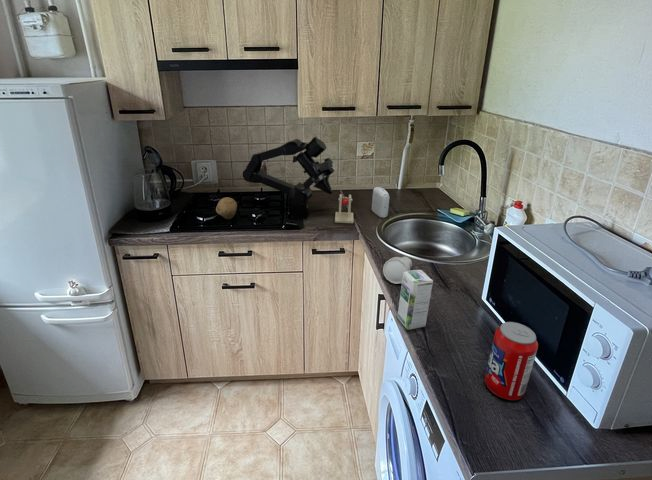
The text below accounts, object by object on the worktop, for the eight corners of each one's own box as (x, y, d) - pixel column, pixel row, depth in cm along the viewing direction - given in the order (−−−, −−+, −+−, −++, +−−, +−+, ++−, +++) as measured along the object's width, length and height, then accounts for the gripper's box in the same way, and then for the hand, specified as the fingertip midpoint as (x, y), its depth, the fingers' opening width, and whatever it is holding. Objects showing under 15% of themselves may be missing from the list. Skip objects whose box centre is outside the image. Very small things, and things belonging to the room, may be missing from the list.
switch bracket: (353, 223, 164) (354, 200, 160) (334, 222, 165) (335, 199, 161) (353, 215, 173) (354, 192, 169) (335, 214, 174) (336, 191, 170)
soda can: (525, 408, 77) (543, 349, 72) (483, 396, 80) (497, 338, 75) (521, 380, 84) (537, 325, 79) (483, 370, 87) (495, 315, 82)
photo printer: (388, 217, 171) (391, 191, 167) (380, 218, 170) (382, 192, 165) (378, 209, 180) (380, 184, 176) (370, 210, 179) (372, 185, 175)
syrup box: (396, 317, 104) (401, 271, 99) (415, 314, 106) (421, 268, 101) (406, 330, 99) (413, 283, 94) (426, 326, 101) (434, 279, 96)
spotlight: (378, 276, 121) (387, 254, 119) (390, 268, 131) (398, 247, 129) (402, 289, 118) (411, 266, 115) (412, 279, 127) (421, 258, 125)
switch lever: (348, 205, 155) (349, 198, 155) (341, 205, 156) (341, 198, 155) (348, 203, 167) (348, 196, 167) (341, 202, 167) (341, 196, 167)
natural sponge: (215, 223, 163) (213, 201, 159) (219, 215, 171) (217, 194, 167) (236, 223, 163) (235, 201, 159) (239, 215, 171) (238, 194, 168)
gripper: (310, 157, 148) (334, 189, 147) (331, 148, 163) (353, 177, 162) (292, 173, 154) (316, 204, 153) (314, 164, 170) (336, 191, 169)
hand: (331, 193), depth 159 cm, fingers closed
